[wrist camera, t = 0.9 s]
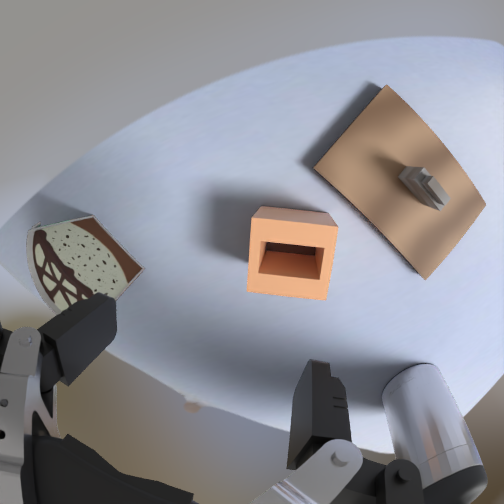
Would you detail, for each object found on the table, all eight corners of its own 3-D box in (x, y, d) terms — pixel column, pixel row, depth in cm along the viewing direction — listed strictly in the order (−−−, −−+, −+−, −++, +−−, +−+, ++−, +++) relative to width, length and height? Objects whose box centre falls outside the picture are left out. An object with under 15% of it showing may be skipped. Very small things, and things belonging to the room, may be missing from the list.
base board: (478, 202, 22) (514, 213, 16) (419, 274, 25) (446, 302, 19) (382, 88, 21) (405, 68, 14) (312, 167, 24) (318, 168, 18)
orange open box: (328, 213, 25) (338, 226, 20) (320, 272, 27) (325, 300, 21) (261, 205, 26) (251, 217, 20) (256, 265, 28) (246, 291, 22)
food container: (69, 242, 31) (15, 267, 22) (86, 207, 29) (26, 226, 20) (131, 307, 32) (85, 351, 23) (154, 277, 30) (104, 320, 21)
